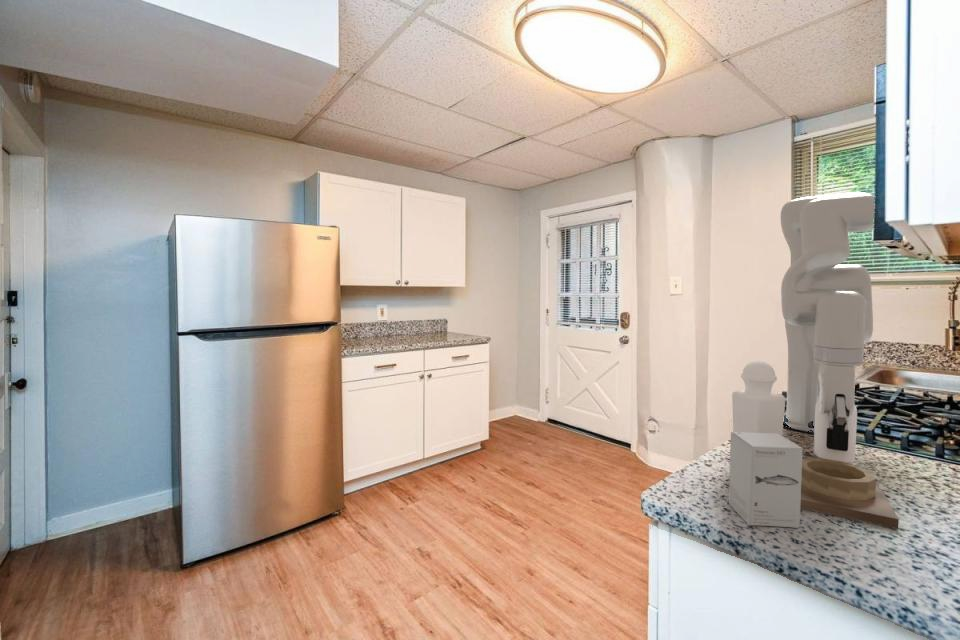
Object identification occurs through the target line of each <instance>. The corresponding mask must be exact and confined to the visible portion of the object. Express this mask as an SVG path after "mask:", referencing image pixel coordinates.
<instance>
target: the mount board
mask: <svg viewBox="0 0 960 640" xmlns="http://www.w3.org/2000/svg"><path fill="white" fill-rule="evenodd" d="M800 510H808V511H811V512H817V513H820V514H821V513H823V514H825V515H831V516H835V517H841V518H844V519H850V520H853V521H855V520H856V521H859V522H860V521H861V522H864V523H868V524H873V525H878V526H882V527H888V528H892V529H893V528H894V529H897V530H898V529H899V526H900V525H899V522H900V520H899V517H898V516H897V514H896V512H895V510H894V508H893V507H892V505H891V503H890V501H888V498H887V497H886V495H885V493H884V492H883V490H882V488H881V486H880V485H879V483H878V482H877V477H875V475H874V473H873V472H872V471H869V470H867V469H865V468H863V467H861V466H859V465H855V464H852V463H845V462H842V461H836V460H829V459H823V458H818V457H813V458H812V457H808V458H806V457H805V458H804V459H803V458H802V477H801V504H800Z"/></svg>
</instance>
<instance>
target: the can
mask: <svg viewBox="0 0 960 640" xmlns="http://www.w3.org/2000/svg"><path fill="white" fill-rule="evenodd" d="M818 399H819V398H818ZM855 403H856V401H855V400H854V408H853V415H851V416H849V415H848V416H849V417H848V431H849V437H848V451H840V450H834V449H828V448H827V446H826V442H827V428H829V413H826V412H825V414H822V413H821V412H820V411H819V403H818V402H817V403H816V406H815V428H814V432H813V436H814V437H813V454H814V455H815V457H816V458H823V459H829V460H836V461H842V462H845V463H849V464H852V463H853V462H855V460H856V445H857V426H858V423H857V422H858V409H857V407H856V405H855ZM848 412H849V410H848ZM832 413H836V410H832ZM834 418H836V417H833V420H834Z"/></svg>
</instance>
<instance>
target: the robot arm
mask: <svg viewBox="0 0 960 640" xmlns="http://www.w3.org/2000/svg"><path fill="white" fill-rule="evenodd" d="M874 197H875V195H873V194H871V193H867V192H861V191H856V192H855V191H854V192H844V193H836V194H835V193H834V194H825V195H824V194H823V195H815V196H805V197H804V196H803V197H800V198H795V199H792V200H789V201H787V202H786V203H784V205H783V206H782V207H781V210H780V226H781V230H782V233H783V236H784V239H785V241H786V243H787V245H788V248H789V252H790V266H789V267H788V269H787V270H786V272H785V274H784V276H783V278H782V281H781V287H780V289H781V291H780V294H781V313H782V318H783V319H784V326H785V333H786V341H787V342H786V343H787V377H786V378H787V381H786V382H787V384H786V386H787V387H786V418H787V419H788V422H785V423H786V424H787V425H788V426H789V427H788V428H790V427H791V428H790V429H794V430H797V431H798V430H799V431H802V432H808V431H809V433H814V428H815V406H816V403H817V402H818V403H819V411H820V412H821V413H822V414H825V412H826V413H829V428H827V442H826V446H827V448H828V449H834V450H840V451H848V437H849V431H848V417H849V416H851V415H853V408H854V405H855V403H854V401H855V390H856V389H855V386H856V367H860V366H863V365H864V352H865V351H864V350H865V349H864V348H865V343H867V342H868V341H870V340H871V338H872V336H873V332H874V316H873V315H874V311H873V293H872V288H873V287H872V278H871V274H870V273H869V271H868V269H867V268H866V267H865V266H862V265H860V264H852V263H851V264H849V263H847V264H842V263H845V261H846V260H847V259H848V258H849V257H850V255H851V246H850V239H849V238H850V237H849V233H857V232H858V233H860V232H862V233H863V232H869V231H872V230H874V229H873V218H874ZM818 398H819V399H818ZM832 410H836V413H832ZM848 410H849V412H848ZM848 415H849V416H848ZM833 417H836V418H834V420H833ZM811 421H813V426H814V428H809V427H808V423H809V422H811ZM810 430H812V431H813V432H812V431H810Z"/></svg>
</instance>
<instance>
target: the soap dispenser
mask: <svg viewBox="0 0 960 640" xmlns="http://www.w3.org/2000/svg"><path fill="white" fill-rule="evenodd" d="M740 378H741V379H742V381H743V383H744V386H745V389H740V390H734V391H733V392H732V394H731V399H732V401H731V402H732V429H733V430H732V432H749V433H777V434H779V435H781V436H783V432H784V425H783V422H784V416H785V409H786V408H785V407H786V397H785V396H784V395H783V394H780V393H776V392H772V388H773V386H774V384H775V382H777V380H778V378H777V375H776V372H775V370H774V368H773V366H771V364H769V363H768V362H765V361H761V360H754V361H750V362H748V363H747V364H745V366H744V367H743V369H742V372H741V374H740Z"/></svg>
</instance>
